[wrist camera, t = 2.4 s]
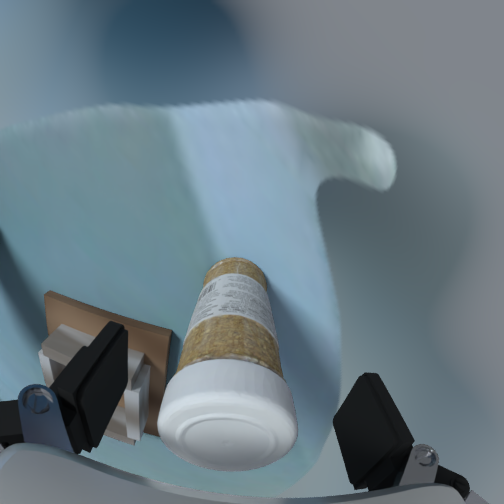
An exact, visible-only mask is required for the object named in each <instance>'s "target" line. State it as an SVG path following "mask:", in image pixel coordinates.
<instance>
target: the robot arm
mask: <svg viewBox="0 0 504 504" xmlns="http://www.w3.org/2000/svg"><path fill="white" fill-rule="evenodd" d="M127 384H128V330H126V329H125V327H124V325H122V324H119V323H116V322H113V321H109V322H108V323H107V324H106V325H105V327H104V328H103V329H102V330H101V331H100V333H99V334H98V335H97V336H96V337H95V339H94V340H93V341H92V342H91V344H90V345H89V346H88V347H87V346H83V347H81V348H80V350H79V351H78V352H77V353H76V354H75V356H74V357H73V358H72V359H71V361H70V362H69V363H68V364H67V365H66V367H65V368H64V369H63V371H62V372H61V373H60V374H59V376H58V377H57V378H56V379H55V381H54V382H53V383H52V385H51V386H50V387H49V388H48V387H47V386H44V385H41V384H32V385H28V386H26V387H24V388H23V389H22V390H21V391H20V393H19V396H18V400H11V401H1V402H0V504H489V503H487V502H486V501H485V500H484V499H483V498H481V497H480V496H479V495H478V494H476V493H475V492H474V491H472V490H471V491H470V492H469V490H470V487H469V483H468V481H467V480H466V479H465V478H464V477H463V476H461V475H459V474H457V473H455V472H452V471H450V470H448V469H446V468H444V467H442V466H440V465H438V463H439V457H438V454H437V453H436V451H435V450H434V449H433V448H432V447H430V446H428V445H425V444H419V445H416V446H414V447H413V446H412V444H413V442H414V438H413V437H412V435H411V433H410V431H409V429H408V427H407V425H406V423H405V421H404V420H403V418H402V416H401V414H400V412H399V410H398V408H397V407H396V405H395V403H394V401H393V399H392V398H391V396H390V394H389V392H388V390H387V389H386V387H385V385H384V383H383V381H382V380H381V378H380V376H379V375H378V374H377V373H364V374H363V375H362V376H359V378H358V379H357V381H356V383H355V384H354V386H353V388H352V389H351V391H350V393H349V394H348V396H347V398H346V399H345V401H344V403H343V404H342V405H341V407H340V409H339V410H338V412H337V413H336V415H335V416H334V418H333V426H334V429H335V432H336V436H337V439H338V443H339V446H340V449H341V453H342V456H343V460H344V463H345V467H346V470H347V474H348V478H349V481H350V483H351V484H353V486H354V489H355V490H357V489H364V488H367V487H368V490H369V491H368V492H362V493H355V494H347V495H338V496H327V497H312V498H311V497H310V498H266V497H249V496H238V495H229V494H221V493H214V492H207V491H201V490H196V489H190V488H185V487H181V486H176V485H172V484H168V483H164V482H160V481H156V480H152V479H149V478H145V477H142V476H138V475H135V474H132V473H129V472H126V471H123V470H120V469H117V468H114V467H111V466H108V465H106V464H103V463H100V462H97V461H95V460H92V459H89V458H86V457H84V456H81V455H78V454H80V453H81V451H82V449H83V450H85V451H87V452H89V453H90V452H91V450H92V448H93V447H95V448H97V447H98V445H99V443H100V441H101V439H102V437H103V435H104V432H105V430H106V428H107V426H108V424H109V422H110V420H111V418H112V416H113V413H114V411H115V409H116V407H117V405H118V403H119V401H120V399H121V397H122V395H123V393H124V391H125V389H126V387H127Z"/></svg>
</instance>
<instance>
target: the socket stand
mask: <svg viewBox="0 0 504 504" xmlns="http://www.w3.org/2000/svg"><path fill="white" fill-rule="evenodd" d="M44 301H45V311H46V320H47V328H48V335H49V336H48V337H47V338H46V339H45V340H44V341H43V342H42V344H41V345H42V349H41V350H40V351H39V352H38V354H39V358H40V363H41V367H42V371H43V375H44V379H45V383H46V386H47V387H48V388H49V387H50V386H51V385H52V383H53V382H54V381H55V379H56V378H57V377H58V376H59V374H60V373H61V372H62V371H63V369H64V368H65V367H66V365H67V364H68V363H69V362H70V361H71V359H72V358H73V357H74V356H75V354H76V353H77V352H78V351H79V350H80V348H81V347H83V346H87V347H88V346H89V345H90V344H91V342H92V341H93V340H94V339H95V337H96V336H97V335H98V334H99V333H100V331H101V330H102V329H103V328H104V327H105V325H106V324H107V323H108V322H109V321H113V322H116V323H119V324H122V325H124V327H125V329H126V330H128V384H127V387H126V389H125V391H124V393H123V395H122V397H121V399H120V401H119V403H118V405H117V407H116V409H115V411H114V413H113V416H112V418H111V420H110V422H109V424H108V426H107V428H106V430H105V432H104V435H106V436H108V437H111V438H114V439H117V440H119V441H122V442H125V443H128V444H131V445H135V442H136V440H138V441H140V440H141V437H142V433H143V432H144V433H147V434H151V435H155V436H158V437H160V435H159V432H158V427H157V421H158V416H159V412H160V408H161V404H162V400H163V397H164V393H165V385H166V376H167V366H168V358H169V350H170V342H171V334H172V330H169V329H166V328H162V327H158V326H155V325H151V324H147V323H144V322H141V321H137V320H134V319H130V318H127V317H124V316H121V315H118V314H114V313H111V312H108V311H105V310H102V309H99V308H96V307H93V306H91V305H88V304H85V303H82V302H79V301H77V300H74V299H71V298H68V297H66V296H63V295H61V294H58V293H55V292H53V291H48V292H47V293H46V294H44Z"/></svg>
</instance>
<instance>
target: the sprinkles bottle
mask: <svg viewBox="0 0 504 504" xmlns="http://www.w3.org/2000/svg"><path fill="white" fill-rule="evenodd" d="M157 427H158V432H159V435H160V437H161V440H162V441H163V443H164V444H165V445H166V447H167V448H168V449H169V450H170V451H172V452H173V453H174V454H175V455H177V456H178V457H180V458H181V459H183V460H185V461H187V462H189V463H191V464H194V465H197V466H199V467H203V468H207V469H212V470H218V471H246V470H252V469H257V468H260V467H264V466H266V465H269V464H271V463H273V462H275V461H277V460H279V459H280V458H282V457H283V456H285V455H286V454H287V453H288V452H289V451H290V450H291V448H292V447H293V446H294V444H295V442H296V439H297V436H298V424H297V418H296V412H295V407H294V402H293V397H292V393H291V391H290V389H289V387H288V385H287V384H286V381H285V379H284V378H283V373H282V369H281V363H280V358H279V344H278V339H277V334H276V329H275V325H274V320H273V315H272V310H271V306H270V301H269V298H268V295H267V284H266V280H265V277H264V275H263V272H262V271H261V270H260V269H259V268H258V267H257V266H256V265H255V264H254V263H252V262H251V261H249V260H246V259H243V258H236V257H234V258H226V259H224V260H221V261H219V262H217V263H216V264H215V265H214V266H212V267H211V269H210V270H209V271H208V272H207V274H206V276H205V279H204V284H203V289H202V291H201V293H200V295H199V298H198V301H197V304H196V307H195V310H194V312H193V315H192V318H191V321H190V324H189V327H188V331H187V334H186V337H185V340H184V344H183V350H182V353H181V357H180V362H179V365H178V368H177V371H176V373H175V374H174V376H173V378H172V379H171V380H170V382H169V383H168V385H167V387H166V390H165V393H164V397H163V400H162V404H161V408H160V412H159V416H158V421H157Z"/></svg>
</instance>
